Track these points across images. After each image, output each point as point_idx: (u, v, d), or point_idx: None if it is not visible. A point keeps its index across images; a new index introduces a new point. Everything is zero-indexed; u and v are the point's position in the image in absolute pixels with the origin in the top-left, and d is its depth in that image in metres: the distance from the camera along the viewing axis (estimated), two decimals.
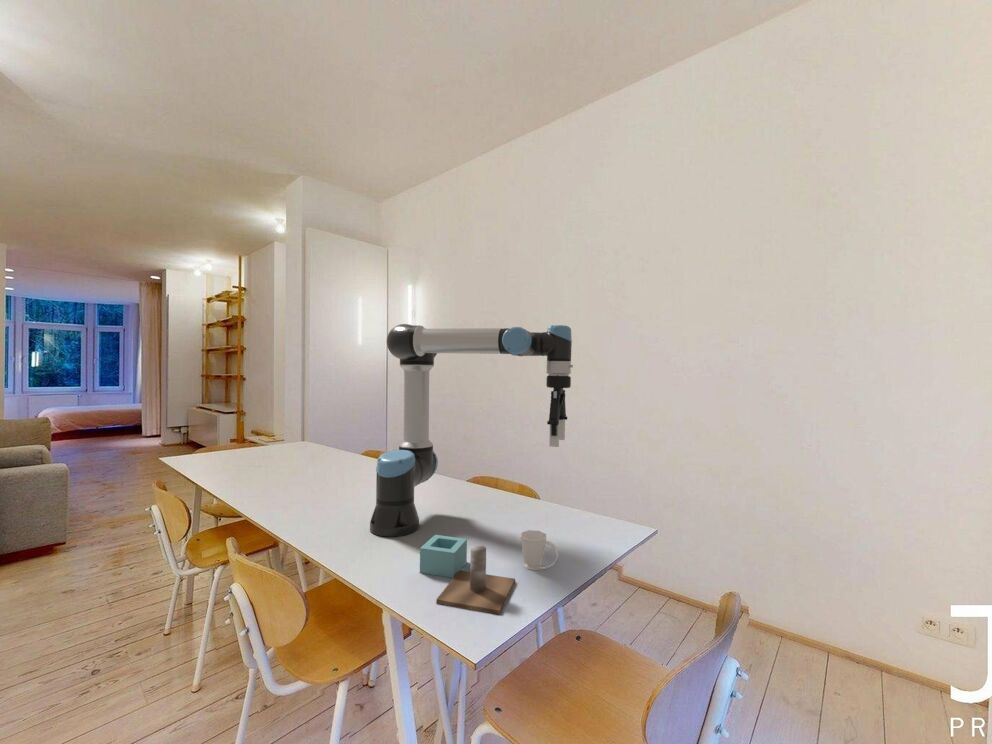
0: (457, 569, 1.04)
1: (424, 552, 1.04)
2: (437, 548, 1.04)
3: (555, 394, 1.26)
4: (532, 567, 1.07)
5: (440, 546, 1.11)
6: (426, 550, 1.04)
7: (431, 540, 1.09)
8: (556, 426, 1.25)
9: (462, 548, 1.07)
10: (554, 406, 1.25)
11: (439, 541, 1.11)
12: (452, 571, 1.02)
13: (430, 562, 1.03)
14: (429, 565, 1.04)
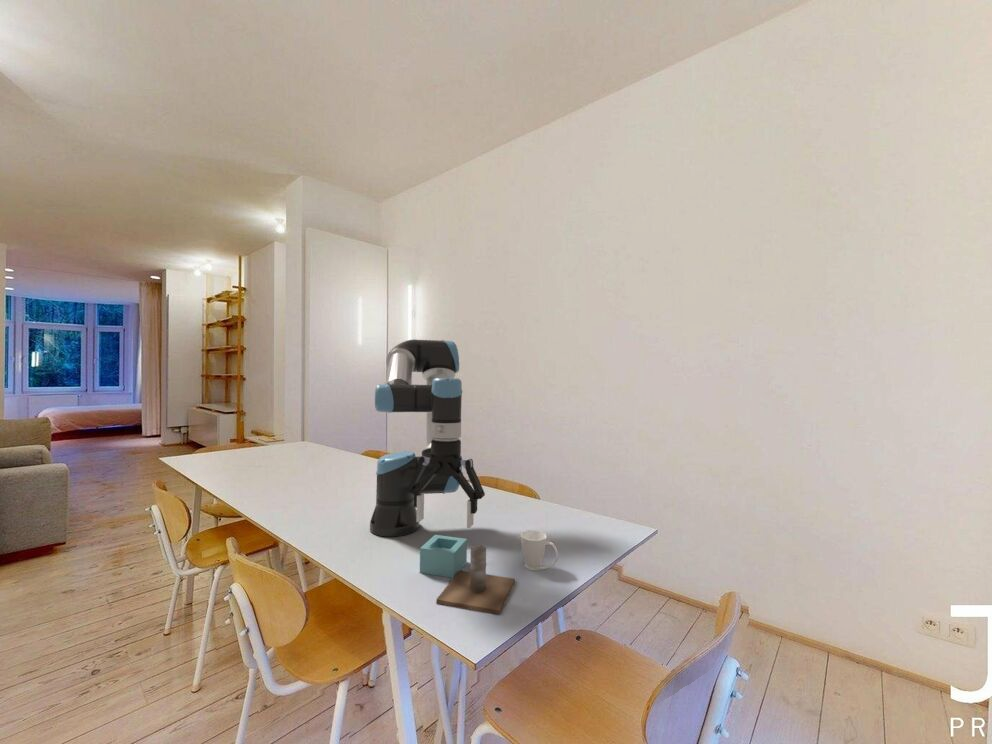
0: (457, 569, 1.04)
1: (424, 552, 1.04)
2: (437, 548, 1.04)
3: None
4: (532, 567, 1.07)
5: (440, 546, 1.11)
6: (426, 550, 1.04)
7: (431, 540, 1.09)
8: (415, 496, 1.08)
9: (462, 548, 1.07)
10: None
11: (439, 541, 1.11)
12: (452, 571, 1.02)
13: (430, 562, 1.03)
14: (429, 565, 1.04)
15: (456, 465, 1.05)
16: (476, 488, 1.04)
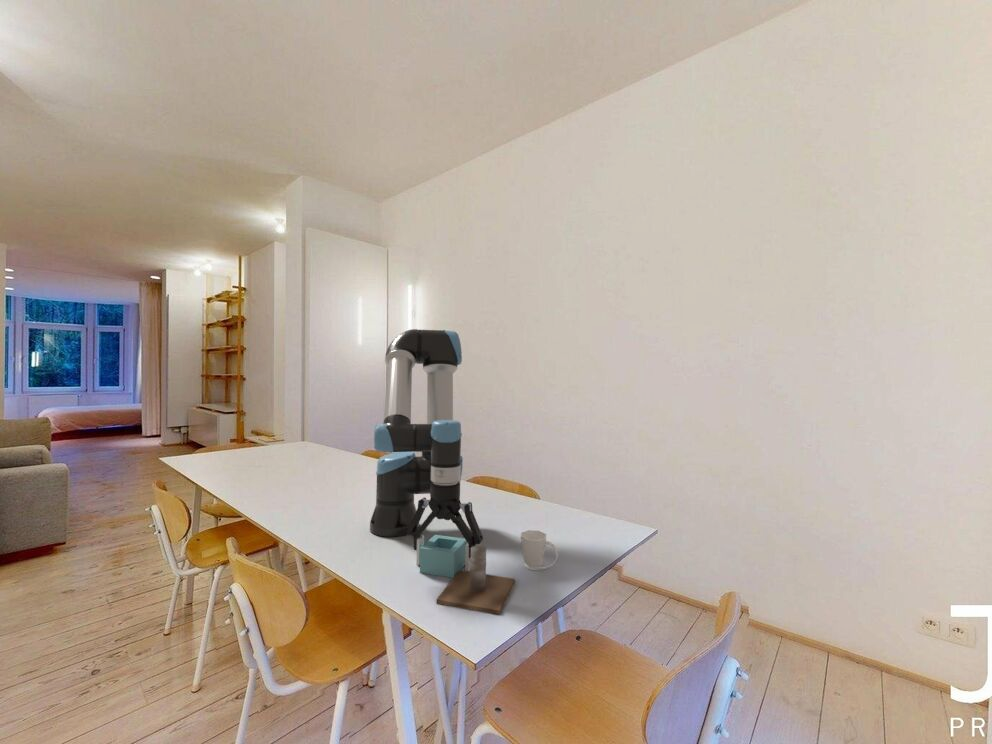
0: (457, 569, 1.04)
1: (424, 552, 1.04)
2: (437, 548, 1.04)
3: None
4: (532, 567, 1.07)
5: (440, 546, 1.11)
6: (426, 550, 1.04)
7: (431, 540, 1.09)
8: (415, 539, 1.09)
9: (462, 548, 1.07)
10: None
11: (439, 541, 1.11)
12: (452, 571, 1.02)
13: (430, 562, 1.03)
14: (429, 565, 1.04)
15: (455, 509, 1.05)
16: (474, 533, 1.04)
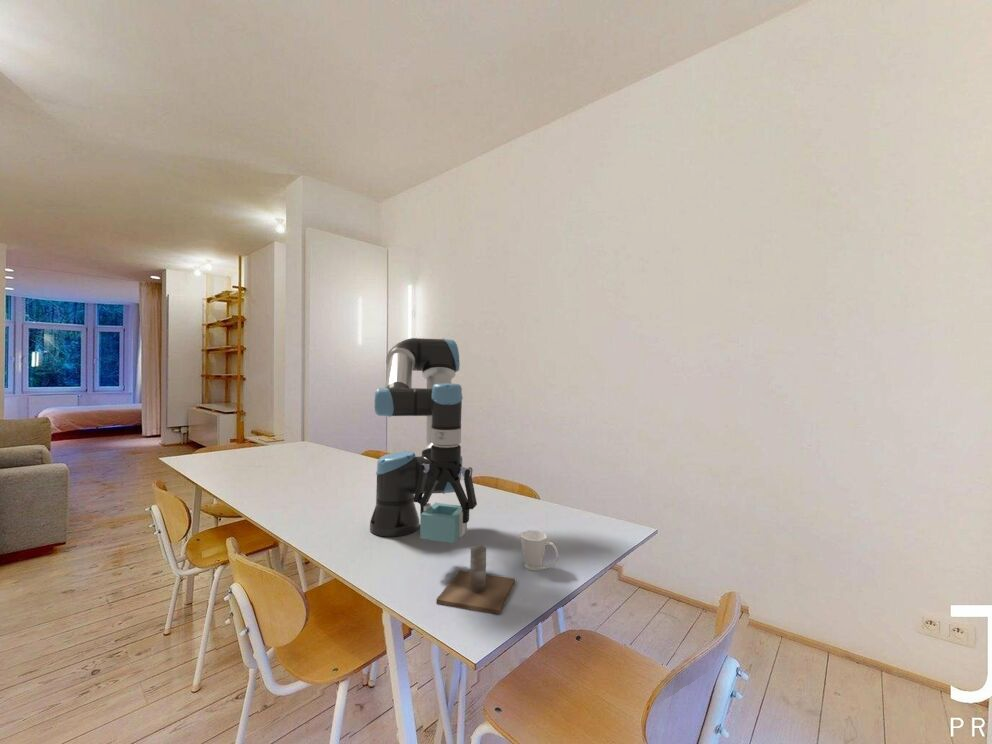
0: (457, 535, 1.05)
1: (425, 518, 1.04)
2: (437, 514, 1.05)
3: None
4: (532, 567, 1.07)
5: (440, 513, 1.11)
6: (427, 516, 1.04)
7: (431, 507, 1.09)
8: (422, 506, 1.09)
9: None
10: None
11: (439, 509, 1.11)
12: (452, 536, 1.02)
13: (430, 528, 1.04)
14: (429, 530, 1.04)
15: (455, 471, 1.06)
16: (470, 498, 1.05)
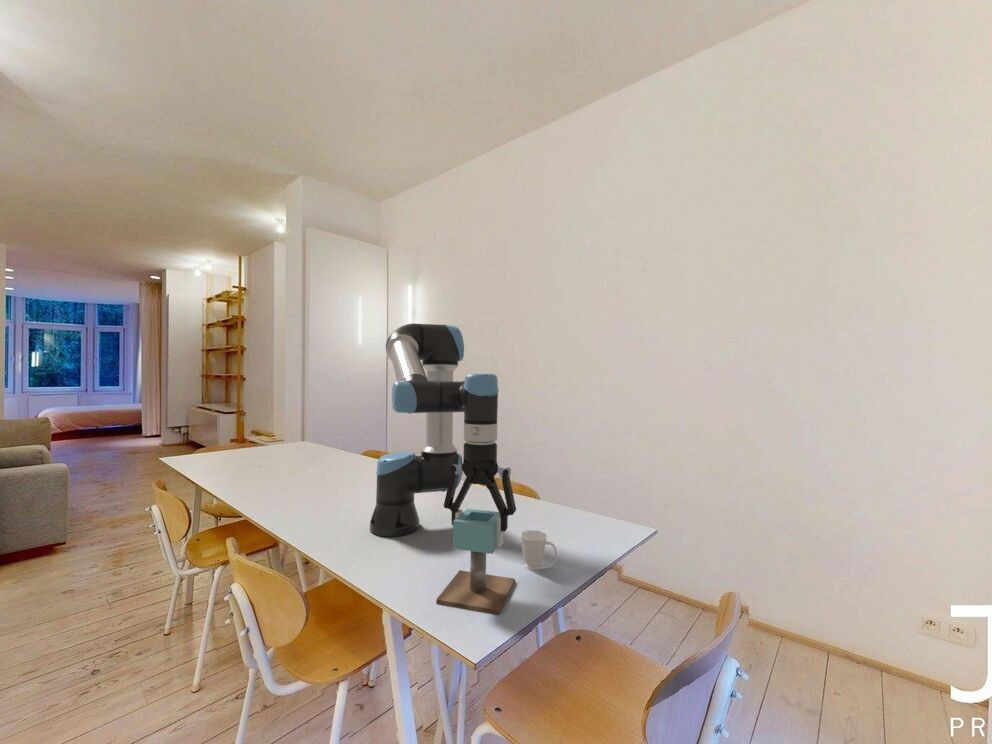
0: (495, 545, 0.92)
1: (458, 525, 0.92)
2: (472, 521, 0.92)
3: None
4: (532, 567, 1.07)
5: None
6: (460, 523, 0.92)
7: (464, 514, 0.97)
8: (454, 513, 0.96)
9: None
10: None
11: (472, 516, 0.98)
12: (490, 546, 0.90)
13: (465, 537, 0.91)
14: (463, 539, 0.91)
15: (492, 472, 0.93)
16: (509, 502, 0.92)
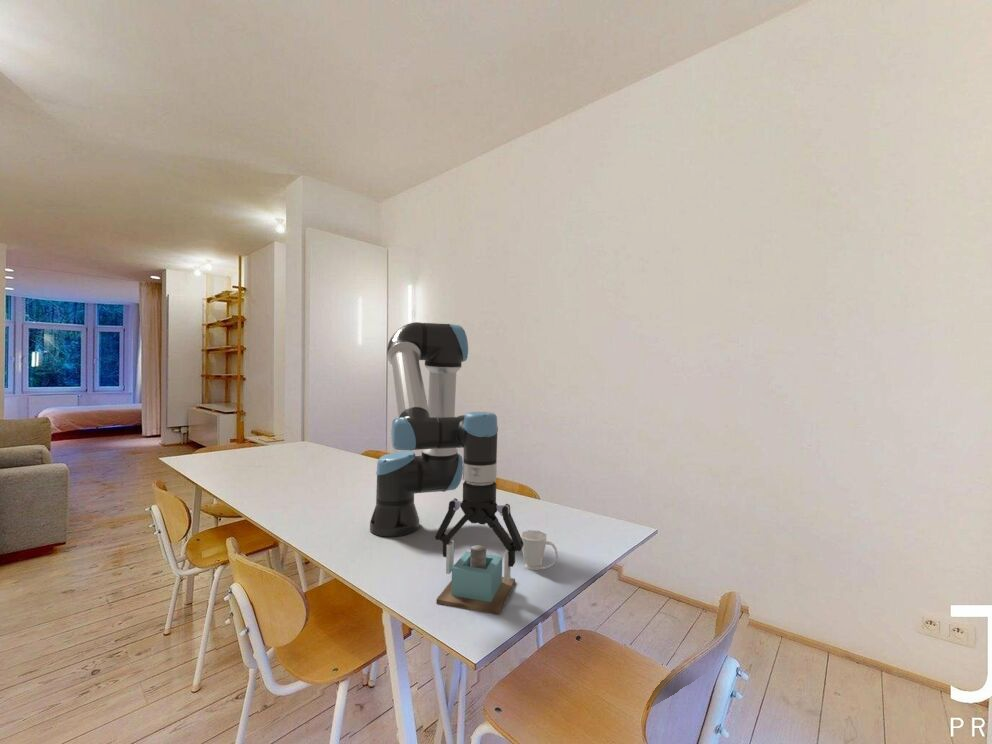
0: (494, 592, 0.92)
1: (456, 573, 0.92)
2: (471, 568, 0.92)
3: None
4: (532, 567, 1.07)
5: None
6: (459, 570, 0.92)
7: (463, 558, 0.97)
8: (445, 545, 0.97)
9: (498, 567, 0.95)
10: None
11: None
12: (489, 595, 0.90)
13: (463, 584, 0.91)
14: (462, 587, 0.92)
15: (492, 512, 0.93)
16: (515, 539, 0.92)
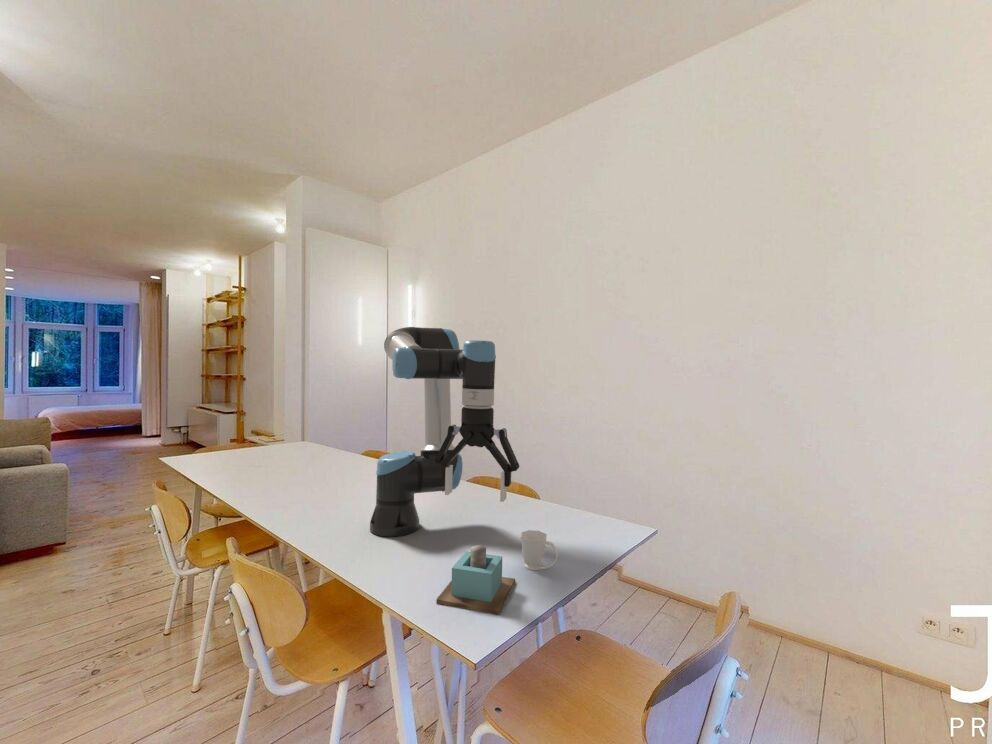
0: (494, 592, 0.92)
1: (456, 573, 0.92)
2: (471, 568, 0.92)
3: None
4: (532, 567, 1.07)
5: None
6: (459, 570, 0.92)
7: (463, 558, 0.97)
8: (444, 468, 1.01)
9: (498, 567, 0.95)
10: None
11: None
12: (489, 595, 0.90)
13: (463, 584, 0.91)
14: (462, 587, 0.92)
15: (489, 435, 0.97)
16: (511, 459, 0.96)
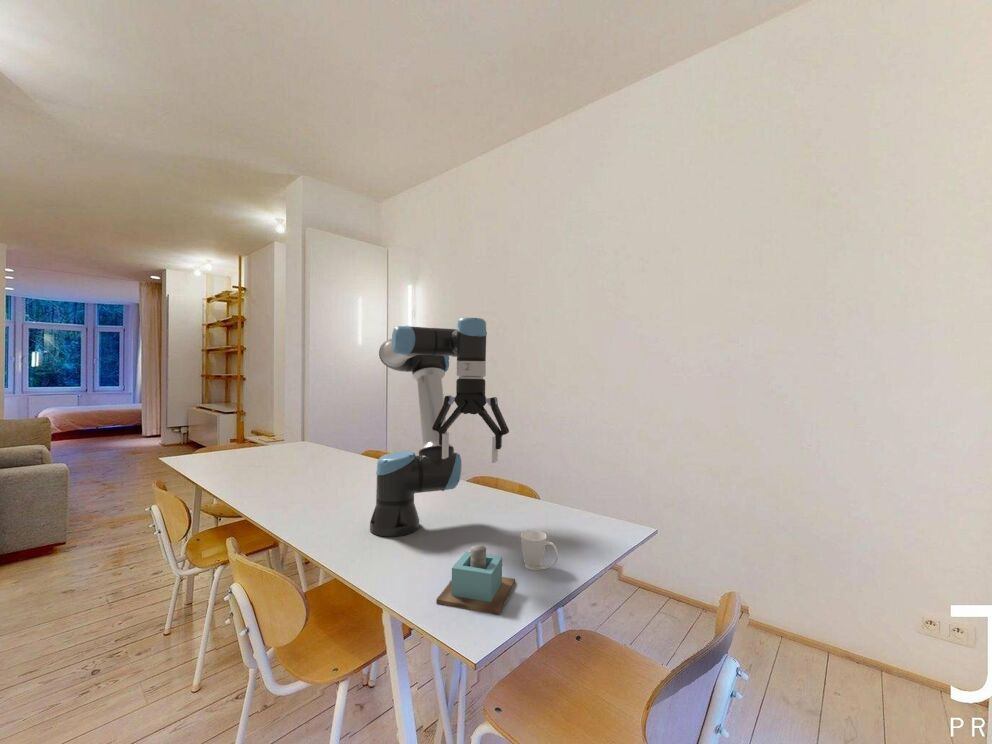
0: (494, 592, 0.92)
1: (456, 573, 0.92)
2: (471, 568, 0.92)
3: None
4: (532, 567, 1.07)
5: None
6: (459, 570, 0.92)
7: (463, 558, 0.97)
8: (441, 434, 1.11)
9: (498, 567, 0.95)
10: None
11: None
12: (489, 595, 0.90)
13: (463, 584, 0.91)
14: (462, 587, 0.92)
15: (481, 402, 1.08)
16: (501, 424, 1.06)
